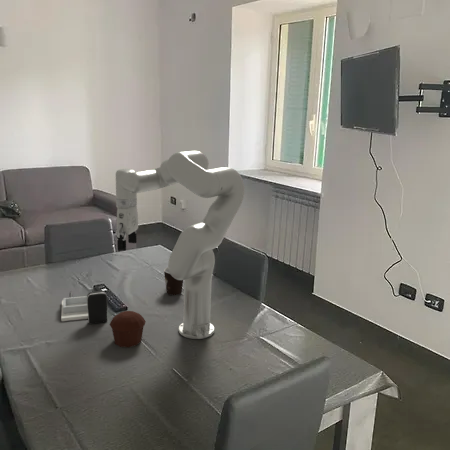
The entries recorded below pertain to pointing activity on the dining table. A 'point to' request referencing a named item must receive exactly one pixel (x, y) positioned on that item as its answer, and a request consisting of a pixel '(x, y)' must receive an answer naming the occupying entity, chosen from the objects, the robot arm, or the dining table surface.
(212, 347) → the dining table surface
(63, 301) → the dock
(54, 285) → the dining table surface
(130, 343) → the muffin
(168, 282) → the coffee mug
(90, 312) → the battery charger
